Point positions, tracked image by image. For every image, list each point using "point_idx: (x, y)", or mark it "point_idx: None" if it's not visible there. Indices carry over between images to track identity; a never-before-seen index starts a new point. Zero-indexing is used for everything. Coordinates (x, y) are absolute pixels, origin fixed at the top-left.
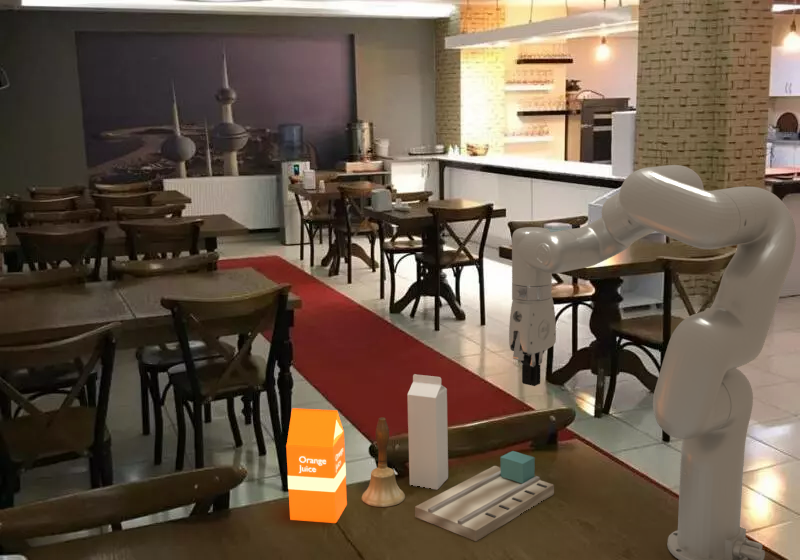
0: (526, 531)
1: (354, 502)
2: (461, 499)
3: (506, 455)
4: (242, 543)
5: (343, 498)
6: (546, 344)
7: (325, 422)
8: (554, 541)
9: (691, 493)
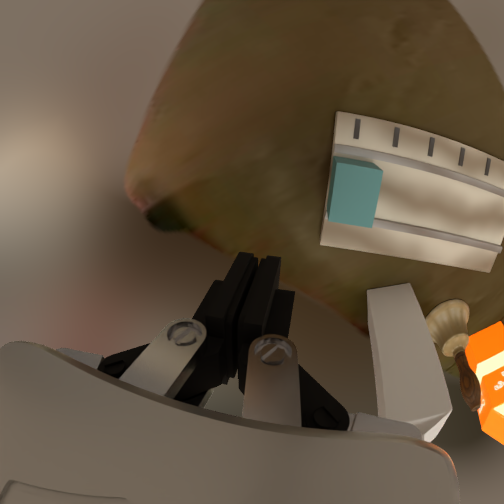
0: (468, 108)
1: None
2: (460, 230)
3: (358, 221)
4: None
5: (481, 342)
6: (100, 424)
7: None
8: (468, 64)
9: None
